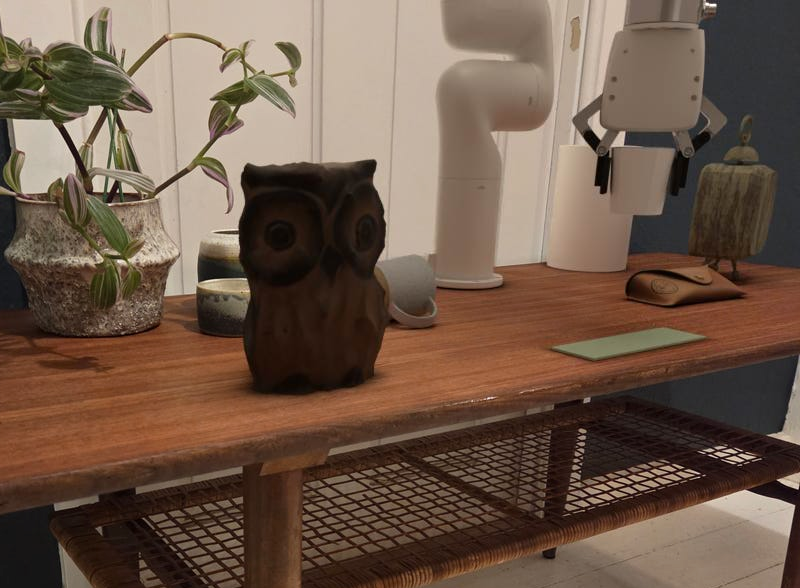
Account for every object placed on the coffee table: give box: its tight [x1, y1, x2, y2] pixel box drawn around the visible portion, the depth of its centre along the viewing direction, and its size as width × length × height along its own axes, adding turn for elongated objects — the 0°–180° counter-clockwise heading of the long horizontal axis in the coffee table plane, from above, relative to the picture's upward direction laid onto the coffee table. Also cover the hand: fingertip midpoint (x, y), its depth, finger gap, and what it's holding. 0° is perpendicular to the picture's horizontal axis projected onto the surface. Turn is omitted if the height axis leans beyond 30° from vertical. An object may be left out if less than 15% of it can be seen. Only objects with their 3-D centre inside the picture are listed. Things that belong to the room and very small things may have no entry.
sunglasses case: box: [624, 263, 749, 307], centre depth 128 cm, size 18×7×7 cm
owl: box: [237, 158, 391, 396], centre depth 80 cm, size 13×13×20 cm
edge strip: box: [550, 326, 708, 362], centre depth 100 cm, size 20×6×1 cm, turn 124°
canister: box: [546, 144, 642, 273], centre depth 153 cm, size 14×14×20 cm
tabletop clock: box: [687, 114, 779, 281], centre depth 140 cm, size 14×9×25 cm, turn 144°
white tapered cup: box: [609, 146, 678, 216], centre depth 99 cm, size 7×7×7 cm
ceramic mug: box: [374, 253, 438, 329], centre depth 109 cm, size 11×8×8 cm
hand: (637, 193), depth 99 cm, fingers closed on white tapered cup, 6 cm apart
